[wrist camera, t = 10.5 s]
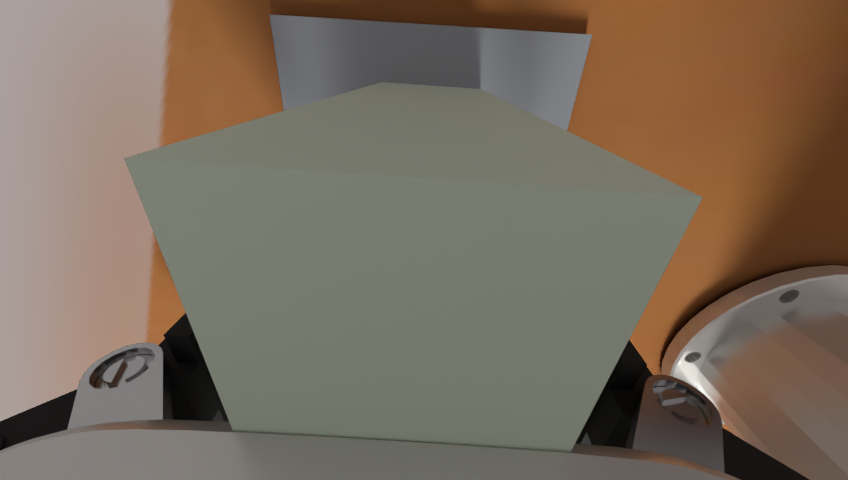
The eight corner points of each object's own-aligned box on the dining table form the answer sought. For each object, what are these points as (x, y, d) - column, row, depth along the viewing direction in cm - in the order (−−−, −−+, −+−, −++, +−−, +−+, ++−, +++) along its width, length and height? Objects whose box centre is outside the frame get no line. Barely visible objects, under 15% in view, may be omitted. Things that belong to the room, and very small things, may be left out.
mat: (586, 35, 12) (592, 34, 12) (509, 337, 20) (511, 343, 19) (275, 16, 12) (269, 14, 12) (319, 325, 20) (316, 331, 19)
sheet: (480, 88, 13) (703, 198, 2) (450, 315, 18) (471, 643, 8) (381, 82, 13) (124, 158, 2) (382, 310, 18) (313, 632, 8)
